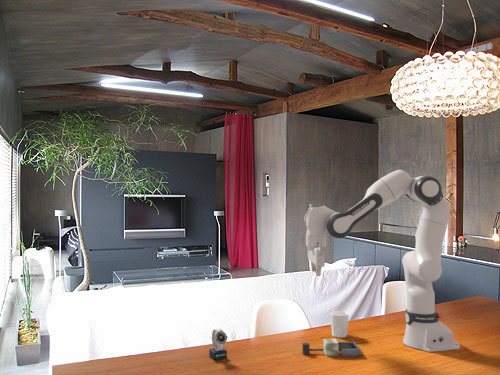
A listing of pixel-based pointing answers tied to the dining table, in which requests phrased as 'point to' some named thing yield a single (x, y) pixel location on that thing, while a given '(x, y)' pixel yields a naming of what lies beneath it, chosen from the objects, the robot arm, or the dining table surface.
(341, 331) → the white cup
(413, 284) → the robot arm
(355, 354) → the dark grey tray
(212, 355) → the watch
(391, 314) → the dining table surface
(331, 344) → the hammer
